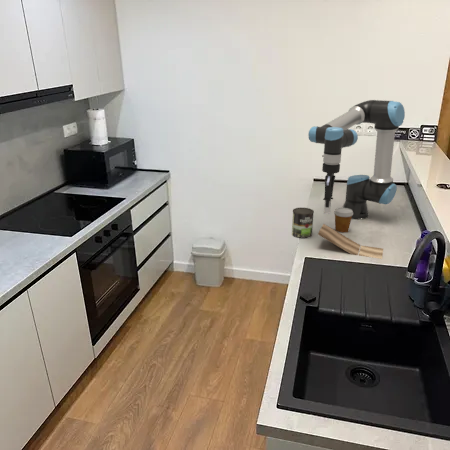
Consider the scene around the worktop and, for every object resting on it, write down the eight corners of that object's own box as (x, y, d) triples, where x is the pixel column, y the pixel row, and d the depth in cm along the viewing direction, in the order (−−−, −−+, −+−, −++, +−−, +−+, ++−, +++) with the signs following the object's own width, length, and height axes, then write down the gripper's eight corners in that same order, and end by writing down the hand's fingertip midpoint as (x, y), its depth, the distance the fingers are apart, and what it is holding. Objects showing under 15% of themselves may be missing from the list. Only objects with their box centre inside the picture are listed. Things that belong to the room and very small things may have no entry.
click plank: (322, 225, 208) (323, 223, 207) (359, 247, 205) (360, 245, 204) (317, 234, 198) (318, 232, 197) (356, 257, 194) (357, 255, 194)
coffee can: (315, 239, 214) (317, 212, 209) (296, 241, 211) (298, 214, 206) (306, 232, 223) (307, 206, 218) (288, 234, 221) (289, 208, 216)
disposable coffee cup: (353, 231, 224) (356, 209, 220) (347, 236, 217) (349, 214, 213) (336, 227, 229) (338, 206, 225) (329, 233, 222) (331, 211, 218)
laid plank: (360, 247, 204) (360, 245, 204) (383, 250, 201) (383, 248, 200) (357, 257, 194) (357, 255, 194) (381, 261, 190) (381, 258, 190)
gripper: (325, 159, 197) (321, 208, 206) (320, 165, 186) (316, 216, 194) (342, 160, 195) (337, 210, 203) (337, 166, 183) (332, 218, 192)
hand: (326, 213), depth 199 cm, fingers closed
